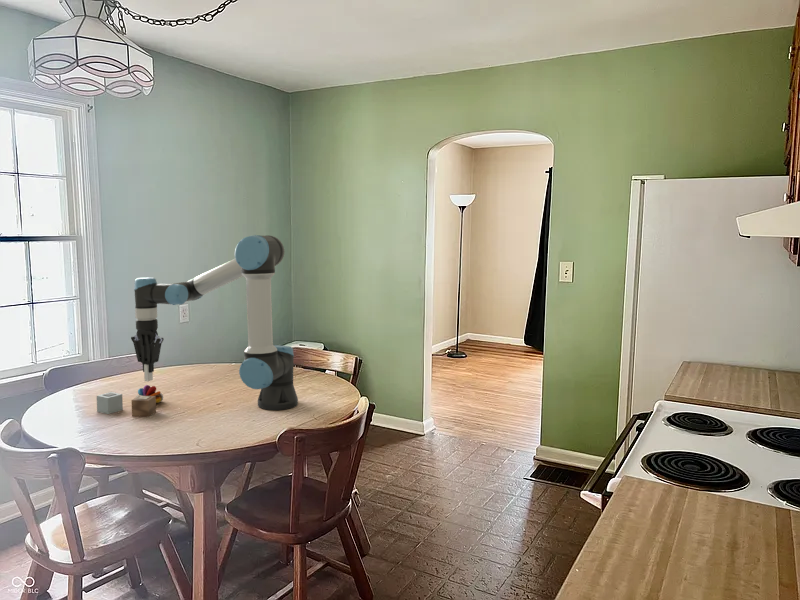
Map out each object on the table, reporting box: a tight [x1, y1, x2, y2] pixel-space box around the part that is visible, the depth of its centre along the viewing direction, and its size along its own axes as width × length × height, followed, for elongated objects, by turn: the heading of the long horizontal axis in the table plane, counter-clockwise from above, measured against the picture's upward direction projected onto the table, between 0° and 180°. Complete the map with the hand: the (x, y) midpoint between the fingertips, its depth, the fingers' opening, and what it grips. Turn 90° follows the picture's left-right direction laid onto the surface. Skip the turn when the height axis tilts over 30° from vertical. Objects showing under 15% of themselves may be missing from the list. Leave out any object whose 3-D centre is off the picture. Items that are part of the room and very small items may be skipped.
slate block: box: [96, 391, 124, 415], centre depth 215 cm, size 6×6×6 cm
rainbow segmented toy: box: [134, 384, 164, 404], centre depth 225 cm, size 8×10×7 cm
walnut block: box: [131, 396, 157, 418], centre depth 212 cm, size 6×6×6 cm
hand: (148, 380), depth 224 cm, fingers closed
